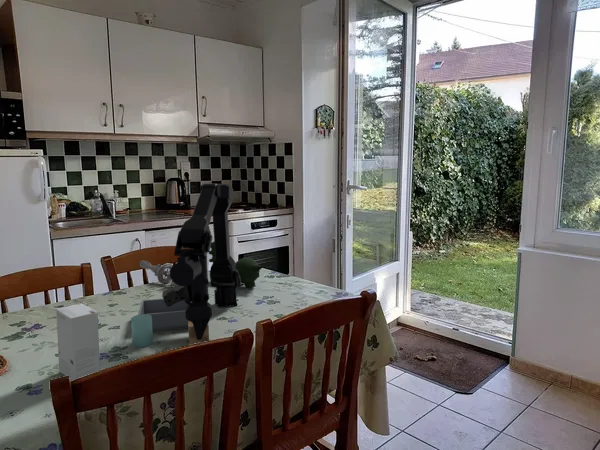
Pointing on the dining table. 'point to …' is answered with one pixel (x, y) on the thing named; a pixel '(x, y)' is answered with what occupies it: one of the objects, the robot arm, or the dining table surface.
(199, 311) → the robot arm
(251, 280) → the toy figurine
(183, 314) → the tote
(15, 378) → the dining table surface
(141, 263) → the spaceship
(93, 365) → the skincare box
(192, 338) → the walnut block
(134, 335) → the teal capsule
